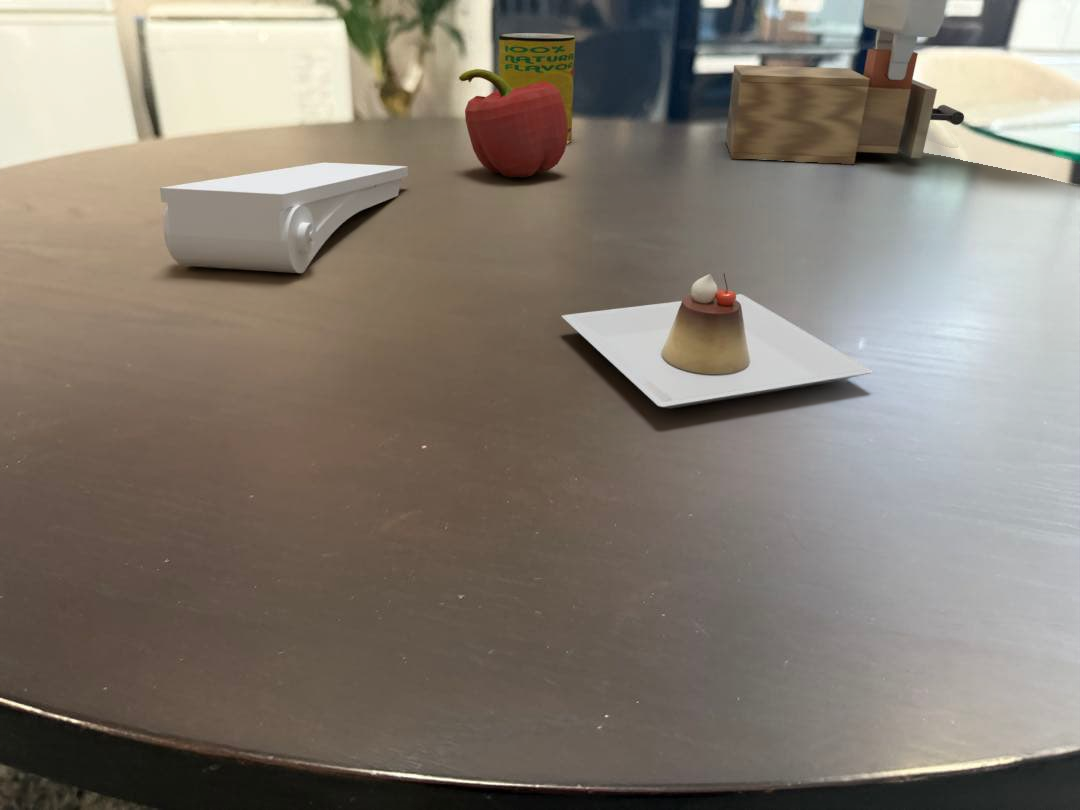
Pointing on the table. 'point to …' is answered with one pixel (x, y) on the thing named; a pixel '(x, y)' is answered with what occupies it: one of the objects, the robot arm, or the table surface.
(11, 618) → the table surface
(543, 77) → the beverage can
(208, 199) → the wall bracket
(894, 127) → the drawer
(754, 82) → the cabinet
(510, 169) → the vegetable
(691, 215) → the table surface
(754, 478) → the table surface
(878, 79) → the block
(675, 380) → the dessert
